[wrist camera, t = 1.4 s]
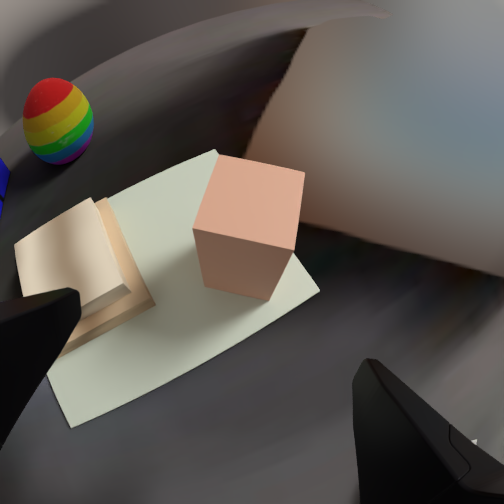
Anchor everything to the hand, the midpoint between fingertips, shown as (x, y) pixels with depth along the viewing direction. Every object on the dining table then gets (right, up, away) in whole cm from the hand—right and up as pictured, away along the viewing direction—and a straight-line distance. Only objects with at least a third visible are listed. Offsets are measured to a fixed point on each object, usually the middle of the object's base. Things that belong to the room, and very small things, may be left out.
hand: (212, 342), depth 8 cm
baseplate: (-8, +1, +15) cm, 16 cm away
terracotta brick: (0, +2, +15) cm, 15 cm away
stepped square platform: (-13, 0, +13) cm, 19 cm away
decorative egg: (-20, +15, +20) cm, 32 cm away
